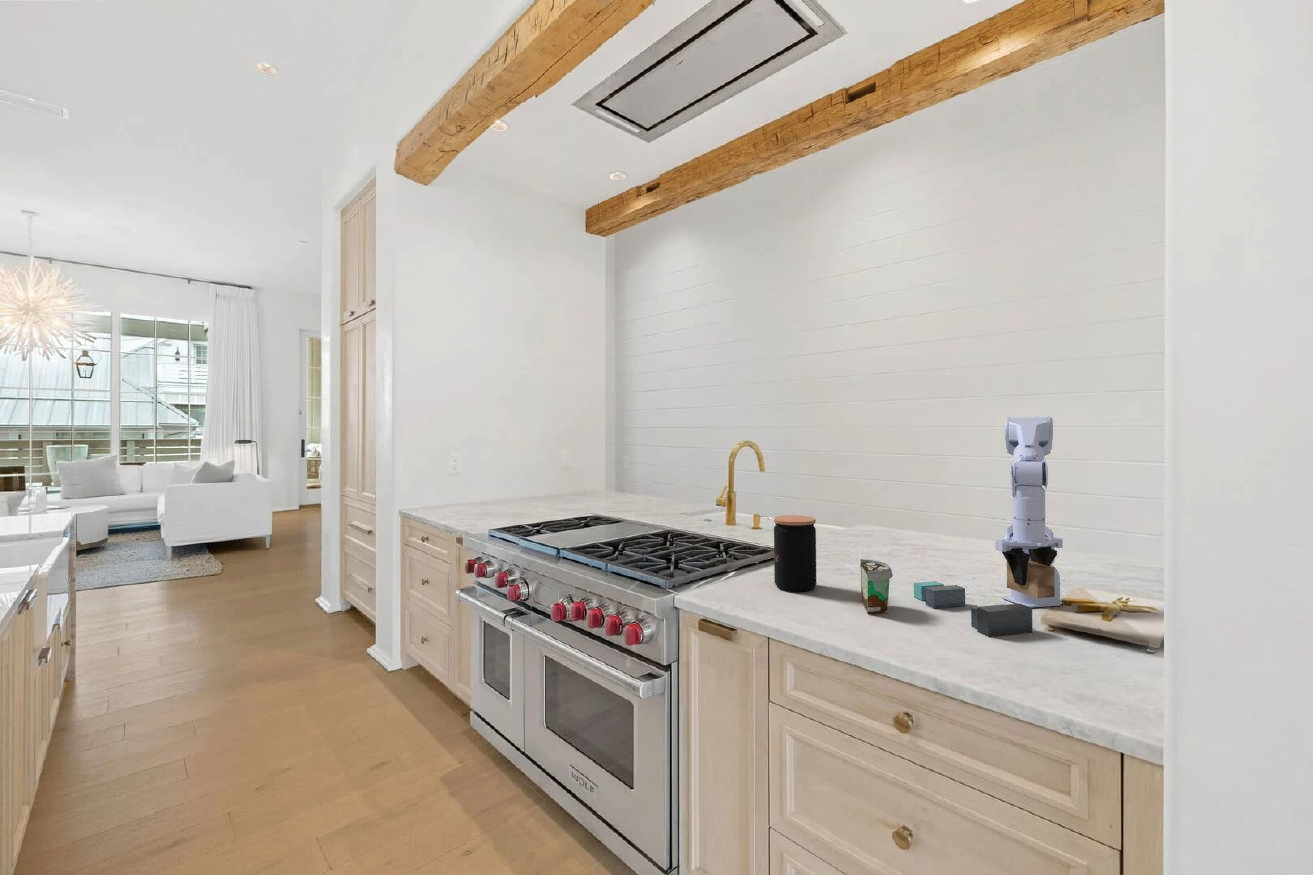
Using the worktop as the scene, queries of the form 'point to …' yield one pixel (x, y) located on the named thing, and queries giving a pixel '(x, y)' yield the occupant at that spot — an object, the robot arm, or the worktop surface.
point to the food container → (875, 586)
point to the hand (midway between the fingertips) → (1029, 583)
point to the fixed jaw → (1002, 619)
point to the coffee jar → (795, 553)
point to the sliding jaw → (939, 594)
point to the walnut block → (1035, 581)
